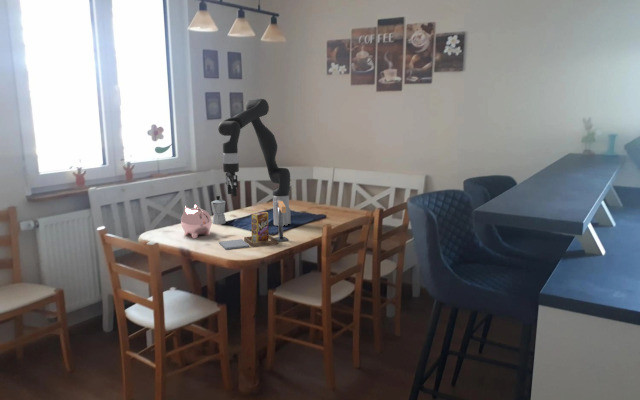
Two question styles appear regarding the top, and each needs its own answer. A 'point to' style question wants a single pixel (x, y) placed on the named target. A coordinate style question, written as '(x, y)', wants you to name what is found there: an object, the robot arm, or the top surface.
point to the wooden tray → (261, 243)
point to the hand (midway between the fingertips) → (232, 195)
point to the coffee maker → (218, 211)
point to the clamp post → (280, 227)
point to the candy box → (260, 227)
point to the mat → (233, 244)
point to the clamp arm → (281, 206)
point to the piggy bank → (196, 221)
